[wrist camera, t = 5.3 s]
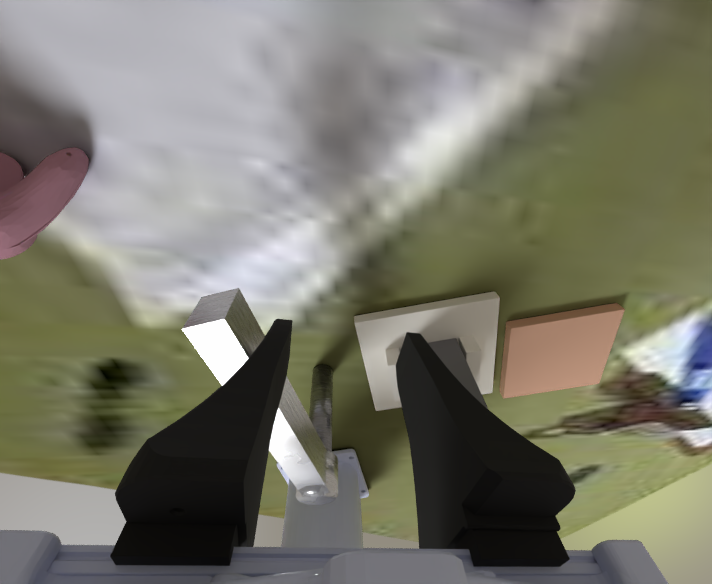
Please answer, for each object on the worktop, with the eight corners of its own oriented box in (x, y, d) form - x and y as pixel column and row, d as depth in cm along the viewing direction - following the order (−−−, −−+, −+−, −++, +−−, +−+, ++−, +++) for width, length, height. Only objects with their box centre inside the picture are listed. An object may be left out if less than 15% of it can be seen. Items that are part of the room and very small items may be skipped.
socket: (488, 385, 28) (529, 469, 22) (327, 411, 29) (324, 498, 23) (495, 291, 23) (551, 368, 17) (295, 326, 23) (281, 411, 17)
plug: (456, 374, 26) (484, 445, 21) (406, 382, 26) (423, 454, 21) (455, 337, 24) (487, 407, 19) (401, 347, 24) (418, 418, 19)
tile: (592, 376, 28) (598, 383, 27) (499, 390, 29) (503, 398, 28) (616, 302, 24) (624, 309, 23) (506, 321, 24) (510, 328, 24)
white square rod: (248, 285, 13) (235, 316, 11) (342, 467, 21) (342, 501, 19) (192, 299, 13) (171, 331, 11) (306, 473, 21) (303, 508, 19)
